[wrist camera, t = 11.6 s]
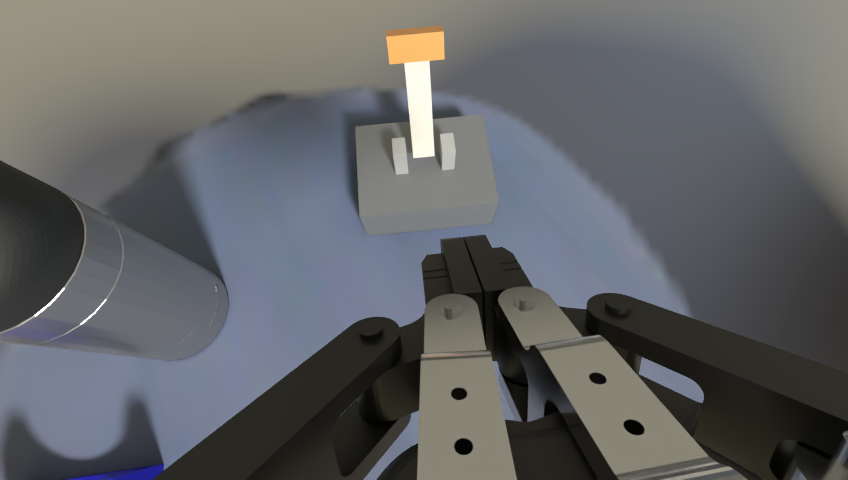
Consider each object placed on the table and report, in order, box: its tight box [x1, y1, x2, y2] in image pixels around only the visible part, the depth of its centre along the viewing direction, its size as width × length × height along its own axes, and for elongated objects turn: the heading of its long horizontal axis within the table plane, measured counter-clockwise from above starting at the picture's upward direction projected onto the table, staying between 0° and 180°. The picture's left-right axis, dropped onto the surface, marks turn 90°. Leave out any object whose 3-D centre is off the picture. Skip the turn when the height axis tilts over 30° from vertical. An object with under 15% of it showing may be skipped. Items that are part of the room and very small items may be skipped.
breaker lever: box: [386, 26, 444, 158], centre depth 35 cm, size 4×2×10 cm
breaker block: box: [355, 114, 499, 236], centre depth 39 cm, size 13×10×8 cm
